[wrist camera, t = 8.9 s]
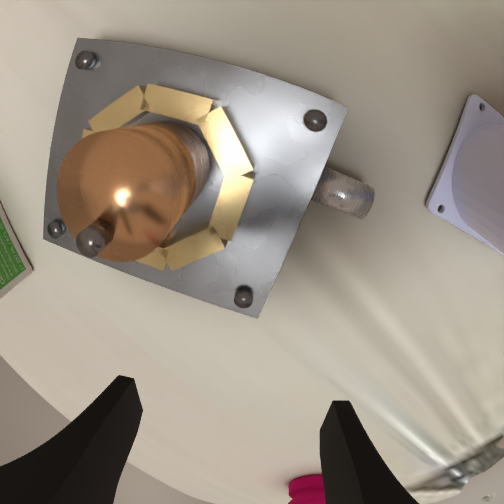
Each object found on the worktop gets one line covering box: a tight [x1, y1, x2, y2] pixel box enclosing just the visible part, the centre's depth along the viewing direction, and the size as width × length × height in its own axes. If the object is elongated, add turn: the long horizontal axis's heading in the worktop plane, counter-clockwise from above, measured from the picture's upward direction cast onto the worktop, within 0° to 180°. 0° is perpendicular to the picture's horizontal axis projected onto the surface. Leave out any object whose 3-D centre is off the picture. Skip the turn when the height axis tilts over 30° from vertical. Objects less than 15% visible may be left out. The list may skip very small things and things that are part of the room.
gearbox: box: [43, 38, 374, 319], centre depth 15 cm, size 17×12×4 cm
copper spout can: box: [57, 121, 210, 262], centre depth 11 cm, size 4×4×7 cm
